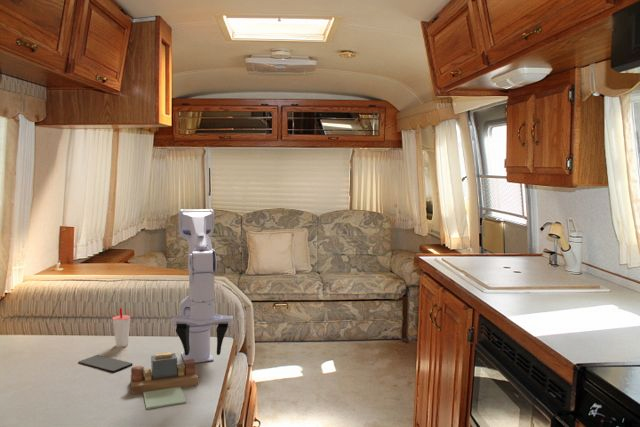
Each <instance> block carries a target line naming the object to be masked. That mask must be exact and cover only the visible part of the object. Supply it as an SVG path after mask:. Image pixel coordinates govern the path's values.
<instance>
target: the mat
mask: <svg viewBox="0 0 640 427" xmlns="http://www.w3.org/2000/svg"><path fill="white" fill-rule="evenodd" d="M142 394H143V398H144V399H143V400H144V404H145V409H146V410H150V409H157V408H162V407H163V408H164V407H170V406H175V405H181V404H186V403H187V399H186V398H185V395H184V391H183V389H182V387H174V388H168V389H161V390H154V391H148V392H143V393H142Z"/></svg>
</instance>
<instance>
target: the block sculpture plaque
mask: <svg viewBox="0 0 640 427" xmlns="http://www.w3.org/2000/svg"><path fill="white" fill-rule="evenodd" d="M183 362H184V365H183V363H179V364H178V363H177V377H174V378H167V379H160V380H153V379H152V375H151V367H148V368H144V367H145V366H143V365H135V366H133V367H132V366H131V368H130V371H131V372H130V386H131V393H132V394H131V395H138V394H143V392H148V391H154V390H161V389H168V388H174V387H181V388H184V387H185V388H186V387H191V386H198V385H199V376H198V372H197V371H196V363H195V361H194V359H190V360H184V359H183Z"/></svg>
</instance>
